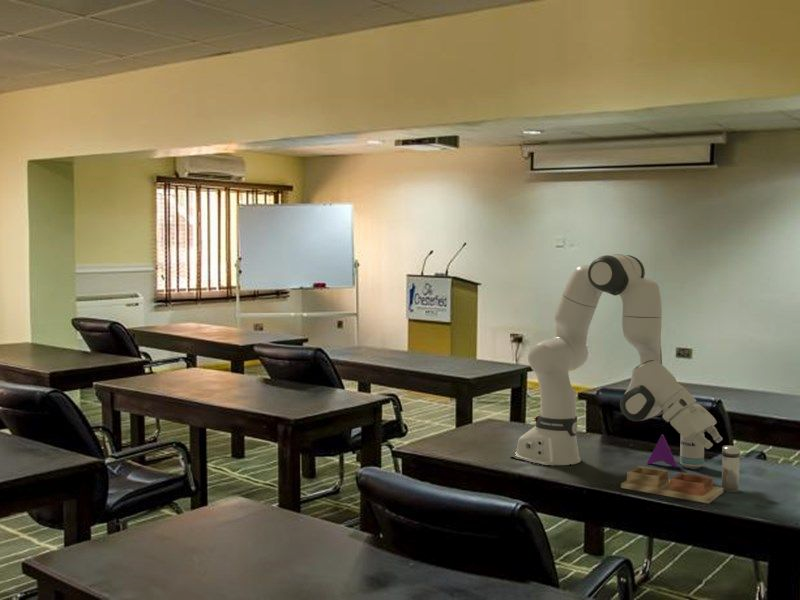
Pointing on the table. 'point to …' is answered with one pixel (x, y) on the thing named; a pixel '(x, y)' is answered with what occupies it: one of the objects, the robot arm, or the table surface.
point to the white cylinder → (730, 468)
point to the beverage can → (691, 453)
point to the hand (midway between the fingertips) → (715, 444)
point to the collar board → (672, 484)
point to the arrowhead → (662, 453)
